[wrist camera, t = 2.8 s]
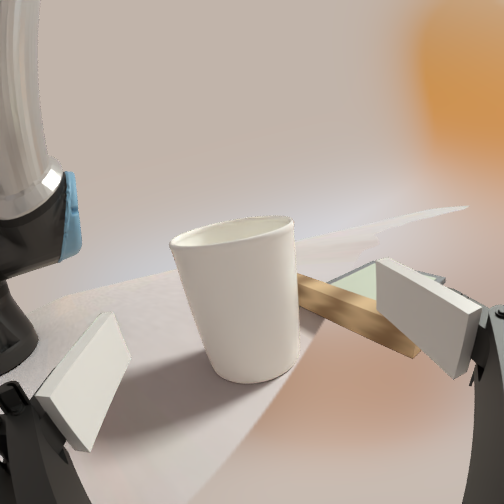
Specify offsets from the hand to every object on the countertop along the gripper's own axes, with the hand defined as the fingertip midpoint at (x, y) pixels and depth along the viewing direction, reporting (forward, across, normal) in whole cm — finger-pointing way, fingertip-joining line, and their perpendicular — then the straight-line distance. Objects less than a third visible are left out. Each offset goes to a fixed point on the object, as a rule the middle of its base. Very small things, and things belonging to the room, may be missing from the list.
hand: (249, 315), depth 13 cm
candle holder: (+10, 0, -10) cm, 14 cm away
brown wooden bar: (+13, +9, -9) cm, 19 cm away
